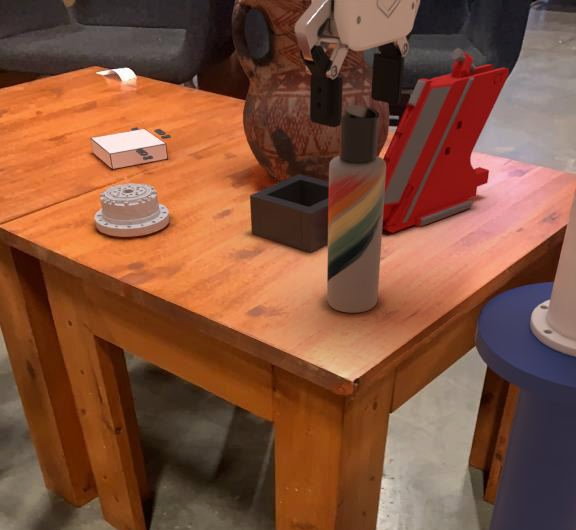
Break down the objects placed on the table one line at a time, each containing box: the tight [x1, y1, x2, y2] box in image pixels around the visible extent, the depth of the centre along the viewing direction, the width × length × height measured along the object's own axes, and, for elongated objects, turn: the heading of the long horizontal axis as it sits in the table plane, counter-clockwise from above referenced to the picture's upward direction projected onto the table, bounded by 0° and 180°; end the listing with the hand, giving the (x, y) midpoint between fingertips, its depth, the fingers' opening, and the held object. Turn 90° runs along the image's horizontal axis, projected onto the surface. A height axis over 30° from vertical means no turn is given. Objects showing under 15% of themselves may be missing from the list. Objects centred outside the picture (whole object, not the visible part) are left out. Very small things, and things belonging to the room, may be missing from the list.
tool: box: [382, 47, 510, 234], centre depth 100 cm, size 24×5×25 cm, turn 133°
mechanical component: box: [93, 182, 170, 238], centre depth 103 cm, size 10×4×10 cm
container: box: [90, 127, 172, 171], centre depth 125 cm, size 20×12×3 cm, turn 29°
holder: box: [249, 174, 329, 253], centre depth 100 cm, size 10×10×5 cm
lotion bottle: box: [326, 105, 386, 314], centre depth 80 cm, size 6×6×20 cm
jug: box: [231, 0, 390, 183], centre depth 109 cm, size 22×21×25 cm
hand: (356, 112), depth 73 cm, fingers open, 9 cm apart
